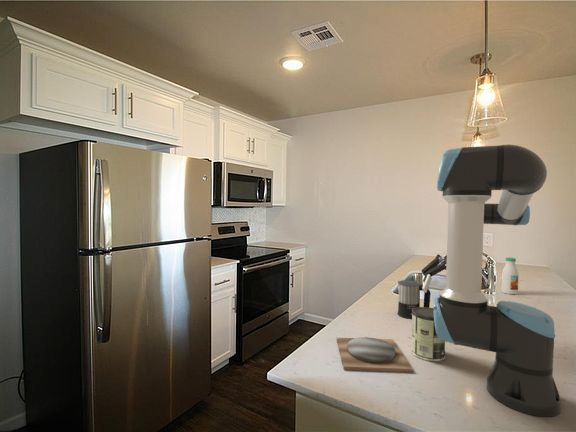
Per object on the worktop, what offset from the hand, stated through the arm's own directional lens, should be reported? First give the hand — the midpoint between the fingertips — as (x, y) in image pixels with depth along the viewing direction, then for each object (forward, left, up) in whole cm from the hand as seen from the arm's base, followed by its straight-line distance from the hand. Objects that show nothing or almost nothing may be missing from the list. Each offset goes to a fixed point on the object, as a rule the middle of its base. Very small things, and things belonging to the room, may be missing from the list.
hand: (443, 294), depth 110 cm
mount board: (-11, +27, -17) cm, 34 cm away
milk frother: (+32, +1, -18) cm, 36 cm away
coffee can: (-9, +8, -18) cm, 21 cm away
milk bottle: (+69, -68, -18) cm, 99 cm away
